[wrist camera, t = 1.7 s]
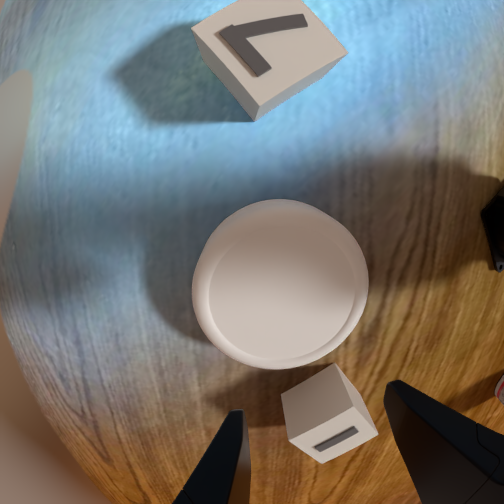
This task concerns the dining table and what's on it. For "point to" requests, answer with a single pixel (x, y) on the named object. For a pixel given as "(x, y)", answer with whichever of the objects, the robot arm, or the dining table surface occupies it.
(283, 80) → the block seven
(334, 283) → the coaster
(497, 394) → the pill bottle
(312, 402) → the block one
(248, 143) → the dining table surface
